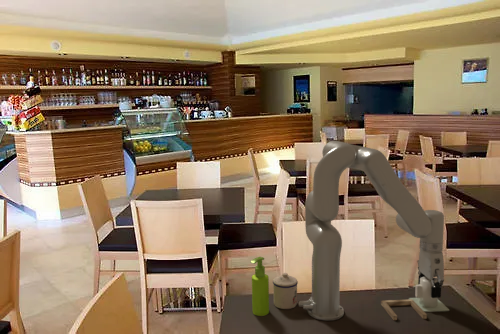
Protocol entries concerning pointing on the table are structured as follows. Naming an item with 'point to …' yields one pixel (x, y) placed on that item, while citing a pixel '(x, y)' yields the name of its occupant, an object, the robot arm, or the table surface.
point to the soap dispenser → (260, 289)
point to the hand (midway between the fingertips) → (429, 291)
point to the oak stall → (402, 302)
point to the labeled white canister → (425, 293)
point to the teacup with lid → (285, 291)
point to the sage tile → (426, 309)
